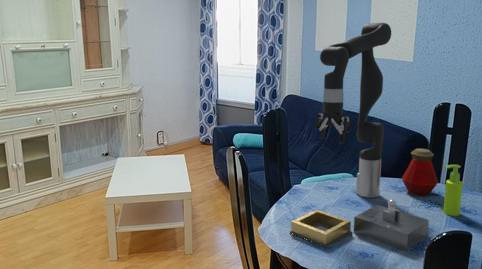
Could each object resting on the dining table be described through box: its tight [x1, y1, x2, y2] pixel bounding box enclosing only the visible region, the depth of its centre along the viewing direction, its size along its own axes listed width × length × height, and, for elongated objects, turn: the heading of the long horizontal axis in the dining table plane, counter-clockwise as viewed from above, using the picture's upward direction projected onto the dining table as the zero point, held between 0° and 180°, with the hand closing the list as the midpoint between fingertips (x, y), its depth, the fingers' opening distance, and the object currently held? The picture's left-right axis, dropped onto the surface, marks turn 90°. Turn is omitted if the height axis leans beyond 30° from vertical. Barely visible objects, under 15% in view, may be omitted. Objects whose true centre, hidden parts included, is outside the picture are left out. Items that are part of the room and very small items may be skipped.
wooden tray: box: [290, 209, 352, 245], centre depth 152 cm, size 15×15×4 cm
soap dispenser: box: [442, 164, 464, 217], centre depth 165 cm, size 6×7×20 cm
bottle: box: [401, 148, 439, 197], centre depth 188 cm, size 16×14×20 cm
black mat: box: [289, 222, 353, 249], centre depth 152 cm, size 16×16×1 cm
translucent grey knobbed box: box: [353, 199, 430, 252], centre depth 149 cm, size 20×16×13 cm
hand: (331, 141), depth 162 cm, fingers open, 8 cm apart
